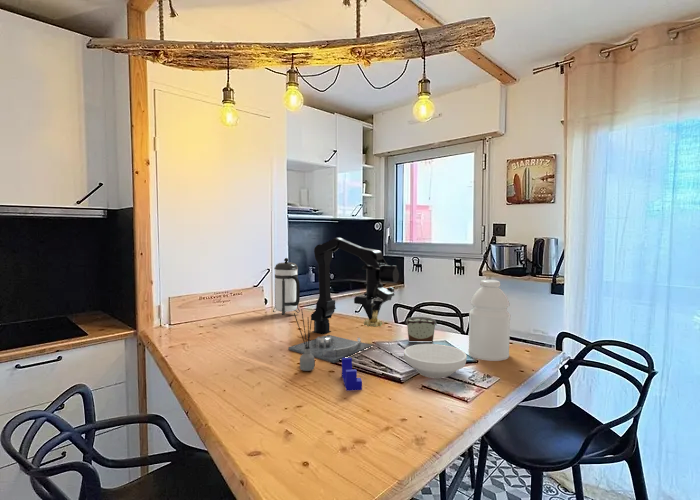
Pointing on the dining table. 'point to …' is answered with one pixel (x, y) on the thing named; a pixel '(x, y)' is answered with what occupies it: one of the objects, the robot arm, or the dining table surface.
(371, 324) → the gear
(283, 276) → the coffee press
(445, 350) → the bowl
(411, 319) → the food container
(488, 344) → the bottle
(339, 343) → the carrier plate
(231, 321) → the dining table surface
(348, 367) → the blue u-shaped block
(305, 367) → the reed diffuser
